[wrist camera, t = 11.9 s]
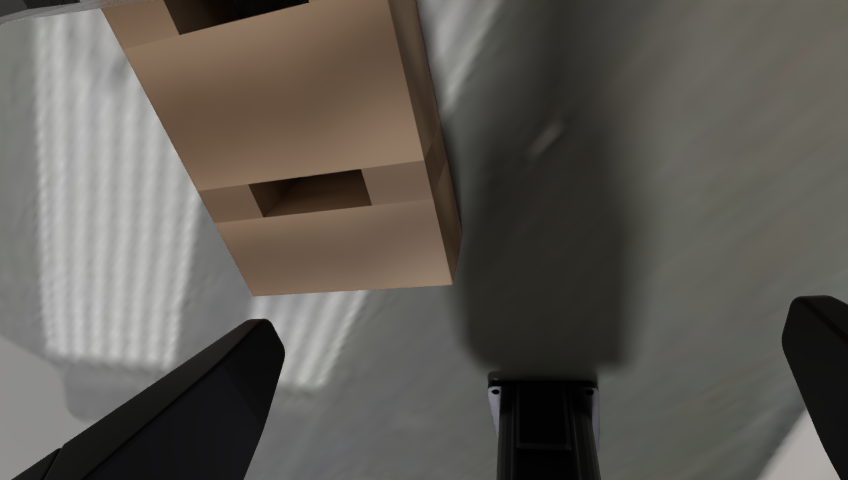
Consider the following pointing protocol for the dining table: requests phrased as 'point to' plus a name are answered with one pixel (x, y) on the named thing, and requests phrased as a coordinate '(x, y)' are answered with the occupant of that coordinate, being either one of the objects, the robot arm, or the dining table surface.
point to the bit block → (305, 137)
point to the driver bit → (51, 7)
